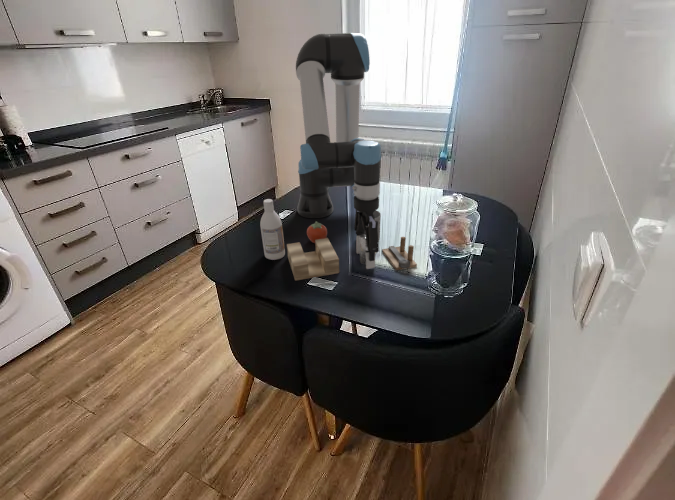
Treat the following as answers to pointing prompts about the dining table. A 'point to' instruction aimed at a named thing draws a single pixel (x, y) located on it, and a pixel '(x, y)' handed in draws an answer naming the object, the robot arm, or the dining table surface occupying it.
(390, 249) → the peg rack
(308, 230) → the tomato
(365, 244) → the pin
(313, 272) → the slot block
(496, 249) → the dining table surface
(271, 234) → the bath foam
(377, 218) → the cup
